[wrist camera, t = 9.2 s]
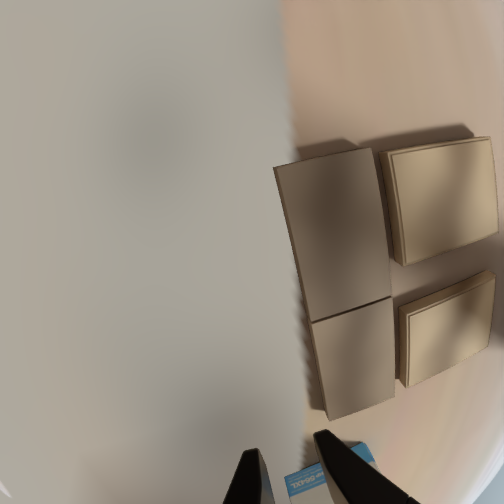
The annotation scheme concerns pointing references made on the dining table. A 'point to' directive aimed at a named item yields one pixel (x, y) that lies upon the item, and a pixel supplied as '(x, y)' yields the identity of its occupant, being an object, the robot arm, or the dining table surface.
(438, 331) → the plank rear
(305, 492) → the ink box
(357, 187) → the tan wooden tile
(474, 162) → the plank front
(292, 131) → the dining table surface
